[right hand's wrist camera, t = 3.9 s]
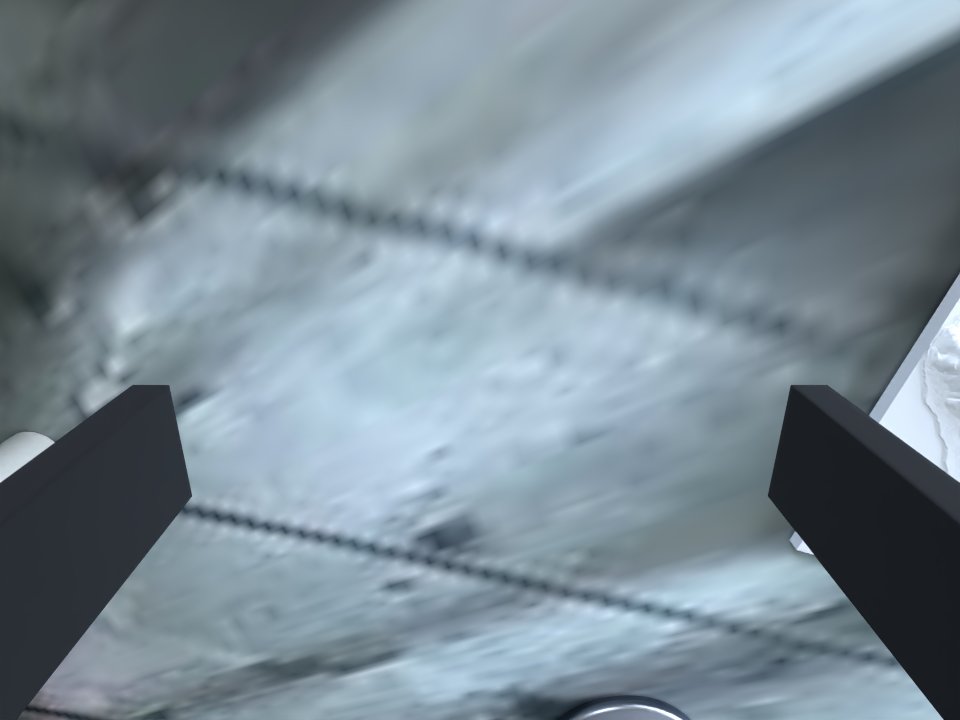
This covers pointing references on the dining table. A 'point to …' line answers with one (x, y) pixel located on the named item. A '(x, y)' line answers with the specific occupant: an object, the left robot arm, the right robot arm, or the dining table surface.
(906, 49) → the dining table surface
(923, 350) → the relief map
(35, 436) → the bottle
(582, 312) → the dining table surface
